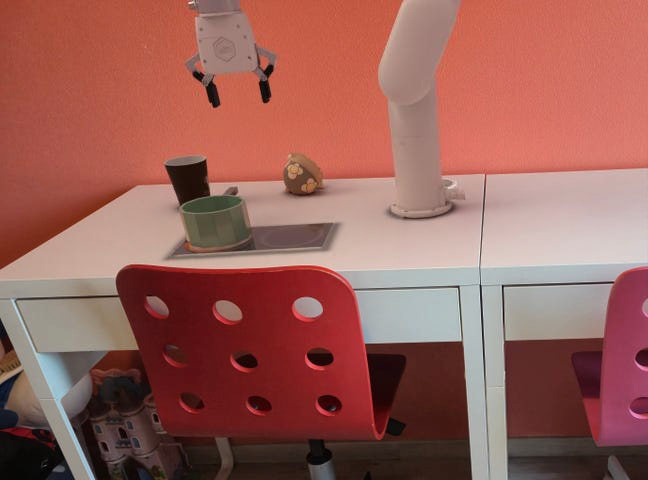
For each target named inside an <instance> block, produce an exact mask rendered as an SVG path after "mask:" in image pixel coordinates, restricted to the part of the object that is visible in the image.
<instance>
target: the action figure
mask: <svg viewBox="0 0 648 480" xmlns="http://www.w3.org/2000/svg"><path fill="white" fill-rule="evenodd" d="M286 160H287V161H288V162H287V163H286V164H285V166H284V169H283V172H282V173H283V175H282V177H283V178H282V179H283V183H284V186H285V188H284V191H285V192H289V193H292V194H294V195H297V196H305V195H306V196H307V195H310V194H312V193H313V192H315V191H316V190H317V189H323V187H324V182H323V179H324V174H323V172H322V171H321V167H319V166H318V165H317V163H316V162H315V161H314V160H312V159H311V158H309V157H307V155H305V154H303V153H299V152H290V154H288V155H287V156H286Z"/></svg>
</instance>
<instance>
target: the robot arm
mask: <svg viewBox="0 0 648 480" xmlns="http://www.w3.org/2000/svg"><path fill="white" fill-rule="evenodd" d="M462 1H463V0H403V1H401V4H400V7H399V9H398V11H397V15H396V18H395V20H394V23H393V26H392V29H391V32H390V34H389V37H388V40H387V43H386V45H385V48H384V51H383V54H382V56H381V60H380V62H379V65H378V69H377V81H378V86H379V89H380V90H381V92H382V94H383V95H384V96H385V97H386V98H387V109H388V121H389V132H390V143H391V151H392V161H393V170H394V179H395V188H396V189H395V190H396V200H394V201H393V202H392V203H391V204H390V212H391V213H393V214H395V215H398V216H401V217H403V218H408V219H409V218H410V219H417V218H418V219H421V218H430V217H436V216H440V215H443V214H445V213H447V212H448V211H450V210H451V209H452V207H453V205H452V201H453V200H457V201H463V200H465V201H466V190H465V189H460V188H459V187H457V188H449V187H445V186H446V185H445V182H443V172H442V170H443V169H442V157H441V143H440V142H441V141H440V131H439V130H440V129H439V128H440V127H439V113H438V95H437V70H438V67H439V65H440V62H441V60H442V57H443V55H444V53H445V50H446V48H447V45H448V42H449V40H450V37H451V35H452V32H453V30H454V28H455V25H456V23H457V18H458V13H459V11H460V7H461V4H462ZM188 8H189V9H190V10H191V11H192V10H193V11H196V12H197V14H198V16H195V17H194V27H195V36H196V42H197V49H198V51H197V53H195V54H194V55H192V56H191V57H189V59H187V60H185V62H184V66H185V68H186V69H187V70H188V71H189V73H190V74H191V75H192V77H193V78H194V79H195V80H197V81H198V82H199V83H201V85H202V86H203V87H205V91H206V96H207V100H208V103H209V104H211V106H212V108H213V109H217V108H219V107H220V106H221V104H222V103H221V100H220V95H219V92H218V87H217V85H216V83H214V79H215V78H216V76H223V75H232V74H233V75H234V74H243V73H250V72H252V73H253V74H254V75H255V76H256V77H257V78H258V79H259V81H258V87H259V91H260V96H261V101H262V104H268V103H269V102H271V99H272V92H271V85H270V81H269V79H270V78H271V75H272V74H273V72H274V71H275V70H276V65H277V62H278V58H279V55H278V53H276V52H274V51H272V50H270V49H268V48H265V47H262V46H260V45H258V44H257V41H256V38H255V34H254V31H253V28H252V25H251V22H250V20H249V17H248V14H247V13H246V12H245V11H243V10H242V6H241V1H240V0H192V1H188ZM260 56H262V57H264V58H267V60H268V63H267V66H266V67H265V69H264V68H263V67H262V64H261V63H262V61H261V57H260ZM199 62H200V63H201V68H202V70H203V72H202V71H200V70H199V69H198V67H197V63H199Z"/></svg>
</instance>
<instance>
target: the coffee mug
mask: <svg viewBox="0 0 648 480" xmlns="http://www.w3.org/2000/svg"><path fill="white" fill-rule="evenodd" d="M163 165H164V167H165V171H166V172H167V173H166V174H167V176H168V178H169V180H170V181H169V182H170V183H171V186H172V188H173V190H174V191H173V192H174V193H175V195H176V199H177V202H178V203H179V207H181V206H182V205H183V204H184V203H186V202H189V201H192V200H195V199H198V198H203V197H208V196H211V187H210V179H209V171H208V163H207V157H206V156H205V155H185V156H177V157H173V158H169V159H167V160H165V161H164V162H163Z"/></svg>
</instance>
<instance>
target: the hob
mask: <svg viewBox="0 0 648 480" xmlns="http://www.w3.org/2000/svg"><path fill="white" fill-rule="evenodd" d="M333 224H334V222H323V223H322V222H321V223H320V222H319V223H304V224H303V223H301V224H286V225H285V224H284V225H269V226H267V225H266V226H251V229H252V233H251V234H252V237H251V239H250V240H248V241H247V242H245V243H243V244H241V245H238V246H235V247H231V248H227V249H222V250H212V251H203V250H196V249H193V248H191V247H190V246H189V243H188V241H187V238H186V237H185V238H184V240H182V241H181V243H179V244H178V246H177V247H176V248H174V249H173V250H172V252H171V253H170V254H169V255H168V256H167V257H168V258H170V257H171V256H181V255H199V254H200V255H201V254H217V253H218V254H219V253H235V252H252V251H253V252H254V251H270V250H271V251H273V250H288V249H289V250H291V249H306V248H307V249H308V248H309V249H310V248H323V247H324V244H325V242H326V240H327V238H328V236H329V233H330V231H331V229H332V226H333Z"/></svg>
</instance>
